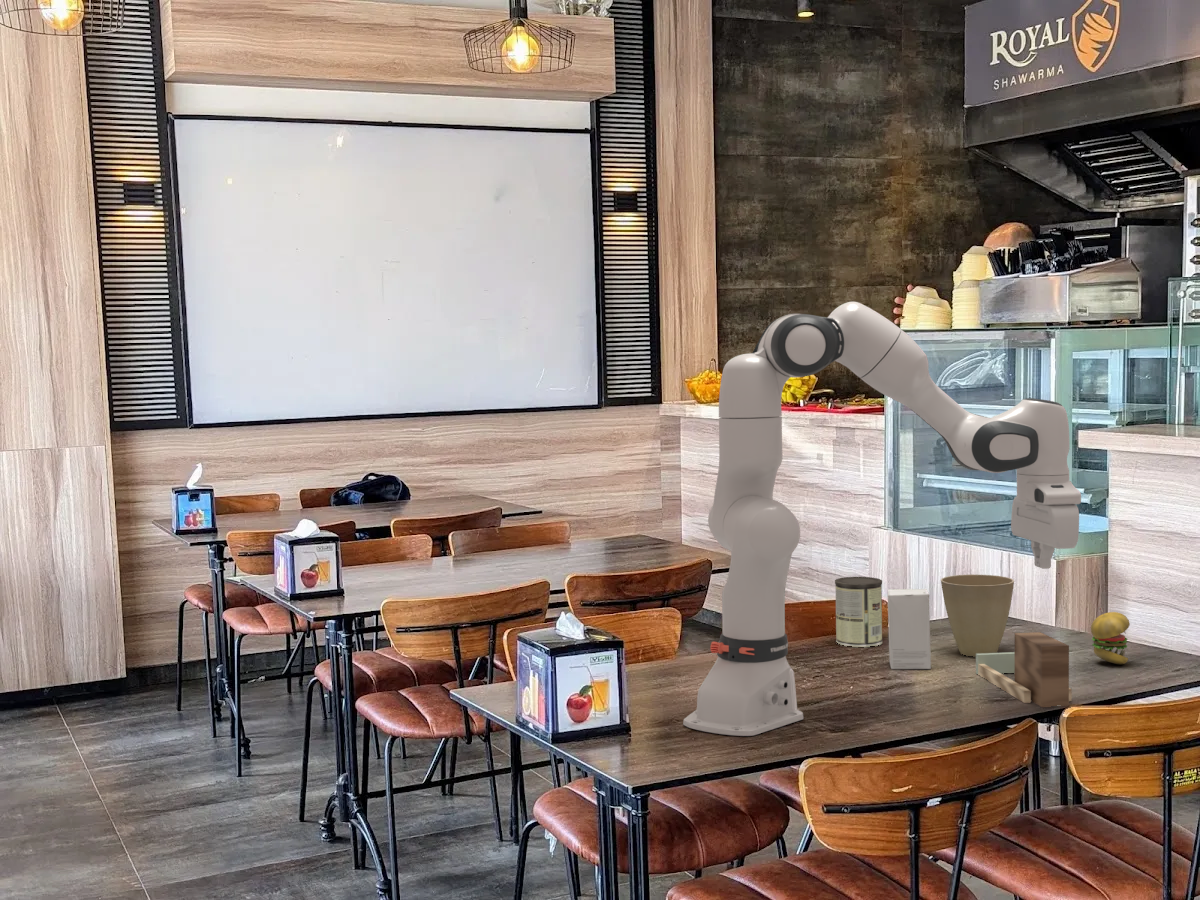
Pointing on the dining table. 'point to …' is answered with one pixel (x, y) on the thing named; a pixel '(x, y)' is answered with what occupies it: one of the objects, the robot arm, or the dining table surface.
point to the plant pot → (977, 610)
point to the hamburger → (1110, 636)
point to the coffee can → (859, 611)
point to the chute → (1008, 684)
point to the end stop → (997, 661)
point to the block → (1042, 668)
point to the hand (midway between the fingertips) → (1042, 567)
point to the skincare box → (909, 629)
